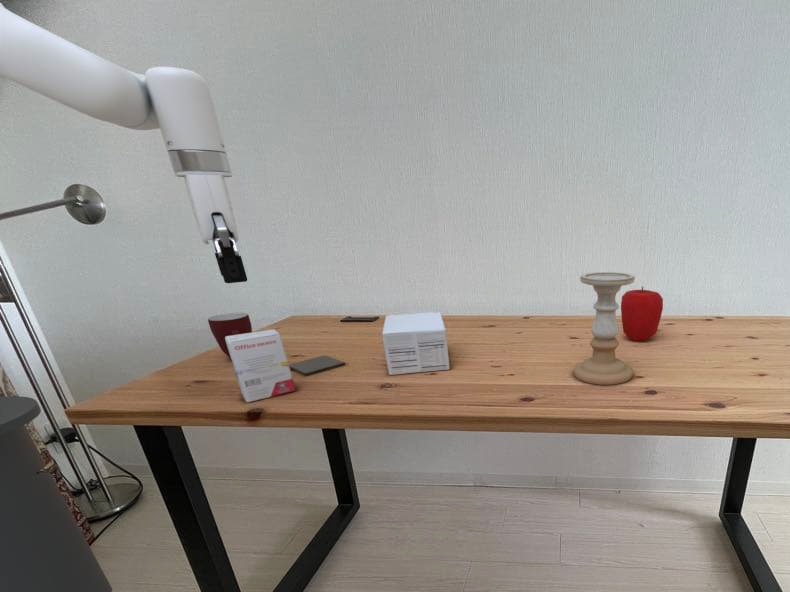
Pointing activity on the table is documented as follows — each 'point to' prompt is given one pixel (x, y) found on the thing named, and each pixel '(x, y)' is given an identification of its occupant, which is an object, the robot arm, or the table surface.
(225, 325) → the mug
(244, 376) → the ink box
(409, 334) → the supplement box
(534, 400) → the table surface
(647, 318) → the apple
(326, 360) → the coaster
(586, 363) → the candle holder
